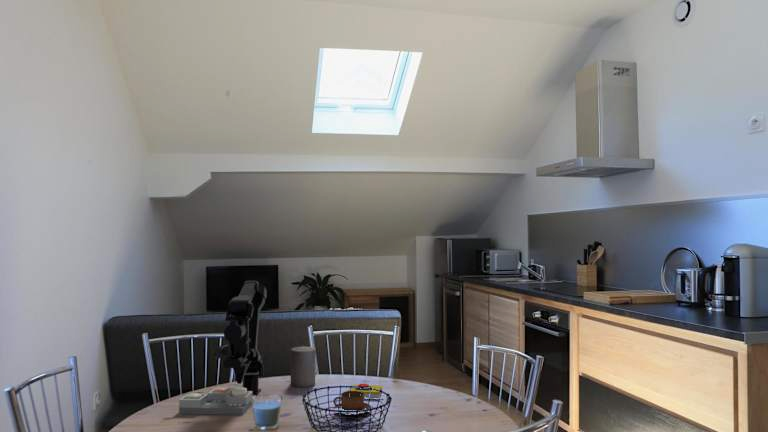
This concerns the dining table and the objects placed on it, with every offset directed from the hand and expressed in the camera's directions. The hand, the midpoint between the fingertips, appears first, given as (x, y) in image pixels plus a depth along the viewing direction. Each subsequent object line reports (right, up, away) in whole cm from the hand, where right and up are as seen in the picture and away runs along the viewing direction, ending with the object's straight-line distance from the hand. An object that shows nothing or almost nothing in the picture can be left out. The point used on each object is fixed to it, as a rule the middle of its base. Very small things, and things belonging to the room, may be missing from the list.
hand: (239, 383), depth 186 cm
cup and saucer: (+38, -8, -6) cm, 40 cm away
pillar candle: (+17, -10, +30) cm, 36 cm away
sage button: (-14, -5, -4) cm, 16 cm away
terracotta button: (-7, -6, +4) cm, 10 cm away
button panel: (-7, -8, 0) cm, 11 cm away
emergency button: (+42, -9, +13) cm, 45 cm away
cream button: (0, -4, 0) cm, 4 cm away
